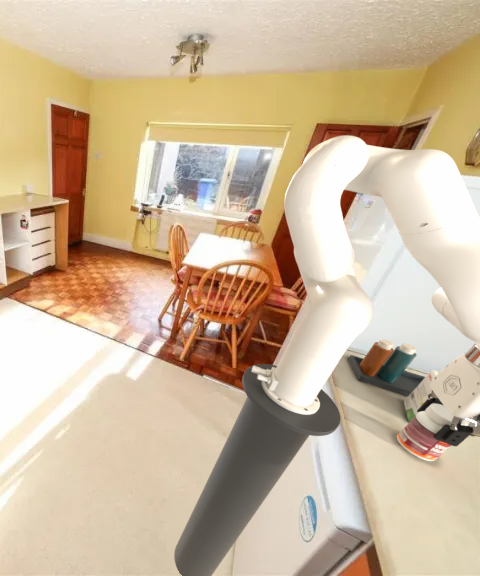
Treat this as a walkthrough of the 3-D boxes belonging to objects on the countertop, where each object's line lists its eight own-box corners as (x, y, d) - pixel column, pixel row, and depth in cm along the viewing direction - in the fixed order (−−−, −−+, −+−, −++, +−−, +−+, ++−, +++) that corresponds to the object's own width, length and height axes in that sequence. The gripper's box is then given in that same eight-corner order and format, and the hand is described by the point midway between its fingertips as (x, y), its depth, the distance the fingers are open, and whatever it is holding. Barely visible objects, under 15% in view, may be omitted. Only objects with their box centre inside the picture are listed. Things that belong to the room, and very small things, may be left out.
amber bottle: (359, 373, 79) (380, 343, 74) (355, 364, 82) (375, 335, 77) (377, 378, 78) (399, 348, 73) (372, 369, 81) (393, 340, 76)
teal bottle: (379, 379, 77) (403, 347, 72) (374, 370, 81) (397, 340, 75) (397, 384, 76) (423, 353, 71) (391, 375, 79) (416, 345, 74)
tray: (357, 380, 77) (361, 375, 76) (347, 358, 86) (350, 354, 85) (447, 409, 70) (452, 404, 69) (426, 382, 78) (430, 378, 78)
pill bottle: (427, 466, 56) (465, 432, 51) (389, 439, 61) (421, 406, 56) (440, 456, 58) (478, 422, 53) (403, 431, 63) (434, 397, 58)
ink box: (436, 435, 63) (473, 400, 57) (407, 422, 66) (439, 387, 60) (429, 412, 69) (461, 379, 63) (402, 401, 71) (431, 368, 66)
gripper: (444, 332, 56) (394, 392, 65) (505, 387, 43) (432, 454, 51) (496, 344, 53) (437, 406, 62) (580, 408, 40) (489, 476, 48)
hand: (435, 427), depth 56 cm, fingers closed on pill bottle, 6 cm apart
